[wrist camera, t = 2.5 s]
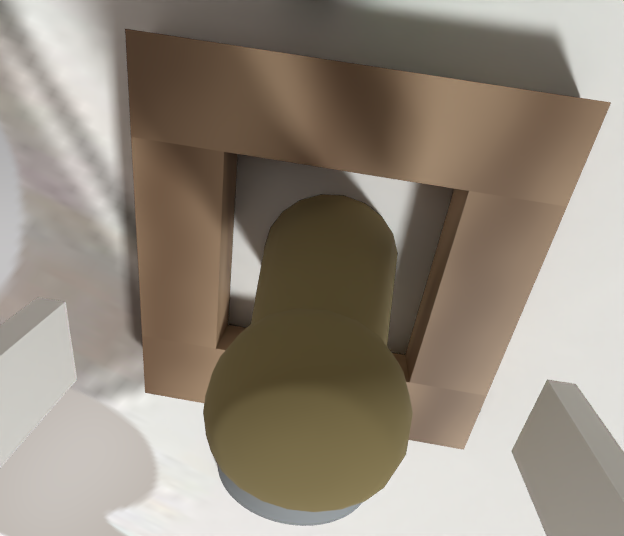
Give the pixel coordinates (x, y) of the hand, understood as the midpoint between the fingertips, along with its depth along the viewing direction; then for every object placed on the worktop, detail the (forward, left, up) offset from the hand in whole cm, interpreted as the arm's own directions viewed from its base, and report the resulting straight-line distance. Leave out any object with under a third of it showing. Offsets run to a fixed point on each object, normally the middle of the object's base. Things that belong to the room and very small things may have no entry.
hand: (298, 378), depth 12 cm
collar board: (0, 0, -8) cm, 8 cm away
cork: (0, 0, -8) cm, 8 cm away
